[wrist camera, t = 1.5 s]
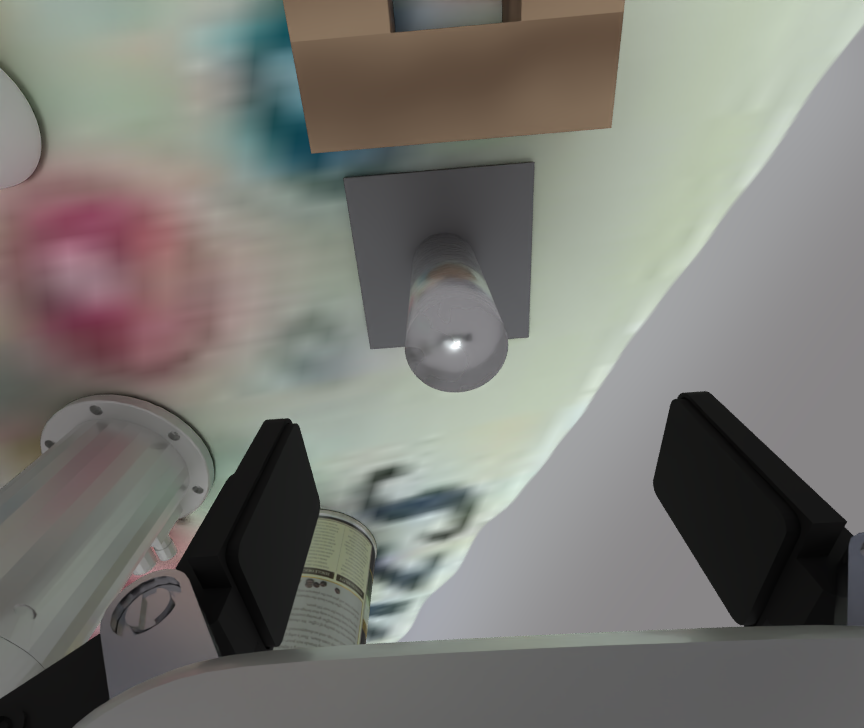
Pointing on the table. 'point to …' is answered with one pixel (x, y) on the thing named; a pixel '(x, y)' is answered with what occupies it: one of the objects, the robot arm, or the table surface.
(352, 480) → the table surface
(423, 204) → the rubber mat
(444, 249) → the steel peg
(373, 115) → the brown peg hole board
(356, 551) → the coffee can
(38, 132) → the water bottle
